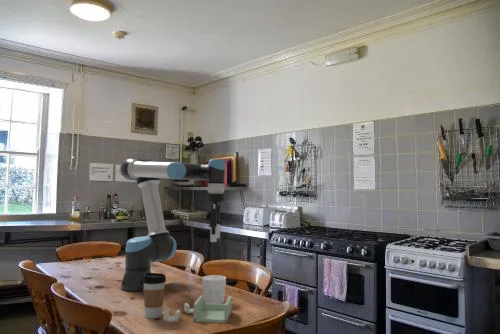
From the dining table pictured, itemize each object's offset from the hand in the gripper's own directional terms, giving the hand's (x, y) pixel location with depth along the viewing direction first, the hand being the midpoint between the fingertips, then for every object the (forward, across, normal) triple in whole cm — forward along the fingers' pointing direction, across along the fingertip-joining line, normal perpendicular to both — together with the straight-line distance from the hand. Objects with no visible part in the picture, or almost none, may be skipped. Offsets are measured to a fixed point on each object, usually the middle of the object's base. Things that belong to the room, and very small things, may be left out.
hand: (215, 240), depth 173 cm
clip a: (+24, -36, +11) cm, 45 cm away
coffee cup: (+24, -32, +19) cm, 44 cm away
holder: (+24, -32, -3) cm, 40 cm away
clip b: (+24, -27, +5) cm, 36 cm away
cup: (+24, -13, -1) cm, 27 cm away
